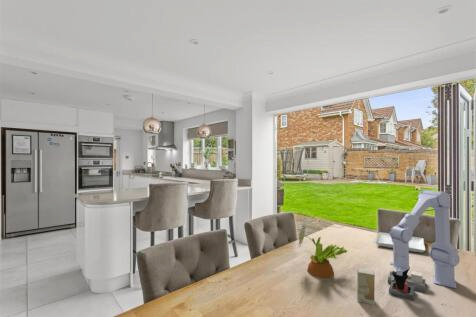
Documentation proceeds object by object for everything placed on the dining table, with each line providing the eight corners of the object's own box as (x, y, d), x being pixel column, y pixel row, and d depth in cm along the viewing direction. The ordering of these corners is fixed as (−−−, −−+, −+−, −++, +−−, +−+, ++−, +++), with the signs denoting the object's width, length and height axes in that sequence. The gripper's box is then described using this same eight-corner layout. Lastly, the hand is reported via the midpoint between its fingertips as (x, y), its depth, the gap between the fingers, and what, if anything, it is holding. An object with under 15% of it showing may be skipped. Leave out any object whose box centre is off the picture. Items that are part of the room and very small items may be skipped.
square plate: (374, 247, 165) (374, 241, 165) (379, 236, 188) (379, 231, 188) (425, 255, 150) (425, 249, 150) (423, 243, 172) (423, 237, 172)
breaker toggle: (411, 279, 117) (411, 270, 117) (422, 281, 114) (422, 273, 114) (411, 282, 114) (411, 273, 114) (422, 285, 111) (421, 276, 111)
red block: (397, 289, 111) (397, 278, 111) (408, 292, 109) (407, 280, 109) (396, 293, 108) (395, 281, 108) (407, 296, 106) (406, 284, 106)
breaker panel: (390, 275, 125) (390, 270, 125) (425, 283, 116) (425, 278, 116) (387, 283, 117) (387, 277, 117) (424, 292, 108) (424, 286, 108)
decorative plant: (303, 259, 145) (303, 216, 145) (349, 267, 135) (348, 220, 135) (292, 279, 121) (291, 228, 121) (346, 290, 111) (345, 234, 111)
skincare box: (357, 301, 102) (357, 271, 102) (356, 296, 106) (356, 267, 106) (375, 305, 100) (375, 274, 100) (373, 299, 104) (373, 269, 104)
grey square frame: (391, 285, 114) (391, 281, 115) (414, 291, 109) (414, 286, 109) (388, 293, 108) (388, 289, 108) (412, 300, 103) (412, 295, 103)
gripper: (392, 247, 117) (392, 277, 117) (387, 257, 105) (388, 289, 105) (410, 251, 112) (411, 281, 112) (408, 261, 101) (408, 295, 101)
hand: (401, 285), depth 109 cm, fingers open, 7 cm apart
